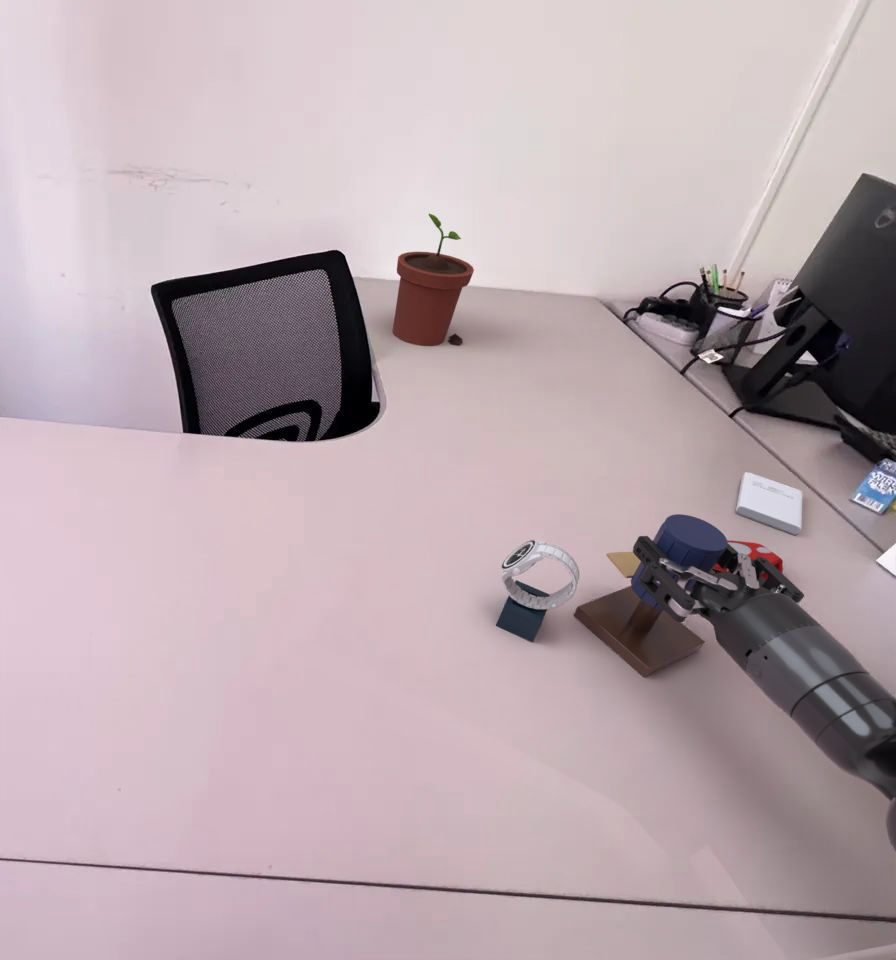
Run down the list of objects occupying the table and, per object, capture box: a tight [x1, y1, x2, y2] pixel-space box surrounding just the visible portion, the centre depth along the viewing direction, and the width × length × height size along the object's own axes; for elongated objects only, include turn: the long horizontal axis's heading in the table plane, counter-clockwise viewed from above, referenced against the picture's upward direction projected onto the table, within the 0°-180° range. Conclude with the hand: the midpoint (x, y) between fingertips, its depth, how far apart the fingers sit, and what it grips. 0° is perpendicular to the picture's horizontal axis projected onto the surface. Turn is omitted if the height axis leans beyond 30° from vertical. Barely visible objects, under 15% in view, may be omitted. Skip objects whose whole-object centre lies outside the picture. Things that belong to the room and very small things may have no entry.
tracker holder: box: [713, 539, 784, 581], centre depth 89 cm, size 12×4×10 cm
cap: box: [605, 513, 728, 611], centre depth 75 cm, size 10×6×9 cm, turn 9°
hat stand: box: [573, 585, 706, 678], centre depth 76 cm, size 10×10×15 cm
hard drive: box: [735, 471, 803, 536], centre depth 105 cm, size 2×8×12 cm
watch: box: [495, 539, 580, 643], centre depth 77 cm, size 6×8×11 cm
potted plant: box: [392, 213, 475, 347], centre depth 144 cm, size 18×22×25 cm
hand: (672, 540), depth 74 cm, fingers open, 8 cm apart
